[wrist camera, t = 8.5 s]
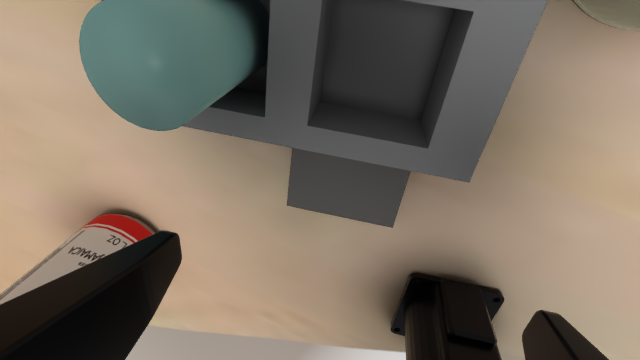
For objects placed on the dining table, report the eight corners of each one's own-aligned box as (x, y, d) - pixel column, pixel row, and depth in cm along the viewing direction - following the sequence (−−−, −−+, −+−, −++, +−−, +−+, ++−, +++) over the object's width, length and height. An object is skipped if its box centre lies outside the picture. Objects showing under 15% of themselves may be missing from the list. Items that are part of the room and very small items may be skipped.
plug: (272, 79, 18) (206, 140, 11) (201, 66, 18) (95, 118, 12) (277, -5, 16) (199, 9, 9) (197, -18, 16) (64, -14, 9)
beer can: (145, 277, 29) (-62, 530, 16) (83, 231, 28) (-208, 470, 14) (183, 246, 27) (-28, 522, 13) (118, 193, 25) (-206, 446, 11)
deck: (392, 222, 22) (392, 227, 21) (289, 200, 23) (286, 205, 22) (415, 147, 19) (416, 151, 19) (296, 124, 20) (294, 128, 19)
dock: (454, 146, 19) (474, 194, 14) (167, 92, 20) (108, 121, 16) (526, -47, 14) (588, -59, 10) (146, -101, 15) (53, -133, 11)
